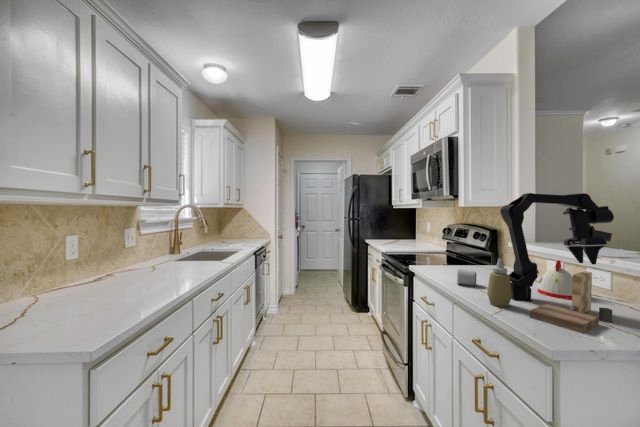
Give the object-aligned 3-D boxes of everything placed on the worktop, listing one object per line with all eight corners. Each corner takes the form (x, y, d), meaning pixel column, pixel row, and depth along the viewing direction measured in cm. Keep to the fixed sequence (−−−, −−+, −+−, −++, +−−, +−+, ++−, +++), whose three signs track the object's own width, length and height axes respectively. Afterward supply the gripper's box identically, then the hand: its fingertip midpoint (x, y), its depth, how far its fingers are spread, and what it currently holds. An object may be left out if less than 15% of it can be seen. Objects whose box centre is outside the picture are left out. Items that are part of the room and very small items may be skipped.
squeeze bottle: (512, 310, 104) (513, 261, 103) (486, 305, 108) (487, 259, 107) (511, 303, 110) (512, 258, 110) (487, 300, 115) (488, 256, 114)
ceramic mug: (476, 287, 132) (477, 271, 132) (457, 285, 135) (457, 269, 135) (474, 282, 142) (474, 267, 142) (456, 280, 145) (456, 266, 145)
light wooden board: (576, 316, 97) (577, 276, 97) (568, 314, 99) (570, 275, 98) (590, 309, 104) (592, 272, 103) (583, 308, 105) (584, 271, 105)
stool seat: (582, 333, 85) (583, 325, 85) (529, 317, 97) (529, 310, 97) (598, 324, 91) (598, 317, 91) (546, 310, 103) (547, 303, 103)
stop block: (603, 321, 94) (604, 309, 94) (598, 319, 96) (599, 307, 96) (612, 321, 94) (612, 310, 93) (606, 319, 95) (607, 307, 95)
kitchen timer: (534, 293, 124) (535, 260, 124) (541, 287, 133) (542, 256, 133) (576, 301, 114) (577, 265, 113) (581, 295, 123) (582, 260, 122)
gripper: (621, 220, 102) (630, 264, 99) (592, 224, 119) (599, 262, 117) (582, 223, 105) (590, 265, 103) (560, 226, 123) (566, 262, 120)
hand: (587, 263), depth 111 cm, fingers open, 9 cm apart
